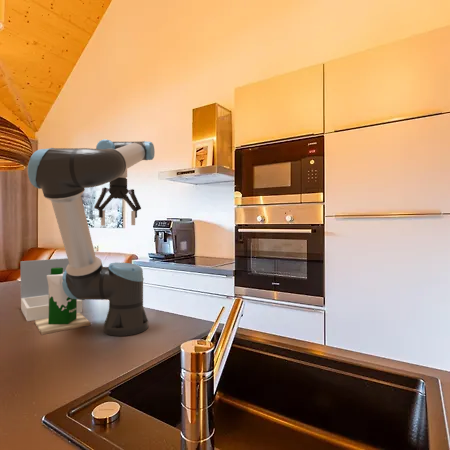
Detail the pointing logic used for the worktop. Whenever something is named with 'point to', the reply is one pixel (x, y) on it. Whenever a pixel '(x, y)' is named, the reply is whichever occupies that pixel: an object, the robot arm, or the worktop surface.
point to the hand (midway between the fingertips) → (118, 225)
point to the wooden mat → (61, 325)
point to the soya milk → (60, 300)
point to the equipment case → (38, 287)
